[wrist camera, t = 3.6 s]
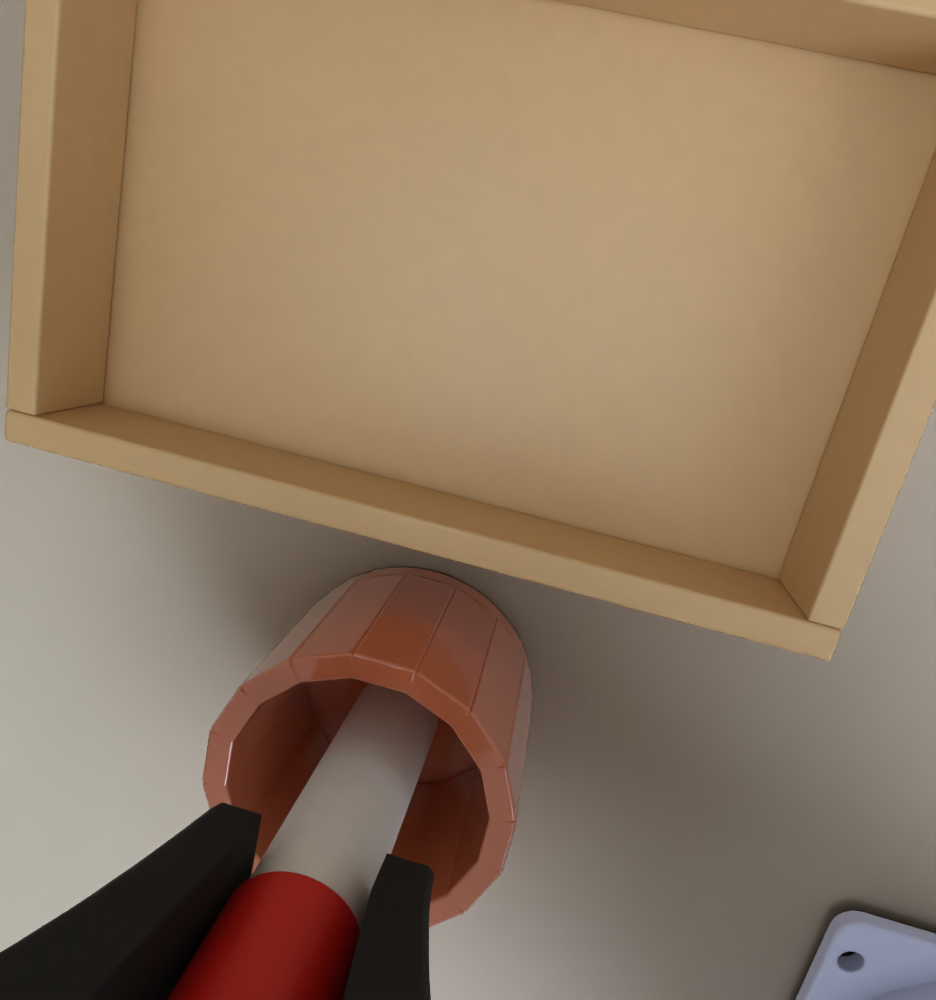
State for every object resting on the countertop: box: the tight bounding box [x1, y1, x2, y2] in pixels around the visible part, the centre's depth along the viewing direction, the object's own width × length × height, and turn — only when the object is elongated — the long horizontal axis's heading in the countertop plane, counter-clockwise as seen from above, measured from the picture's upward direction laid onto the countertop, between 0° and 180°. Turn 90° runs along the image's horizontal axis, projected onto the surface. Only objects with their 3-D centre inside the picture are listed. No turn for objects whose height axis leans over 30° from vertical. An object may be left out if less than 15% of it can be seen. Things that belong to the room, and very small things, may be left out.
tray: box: [5, 0, 936, 661], centre depth 13 cm, size 10×15×2 cm, turn 77°
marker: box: [167, 683, 438, 1000], centre depth 11 cm, size 2×2×8 cm
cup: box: [203, 567, 532, 927], centre depth 14 cm, size 5×5×4 cm
